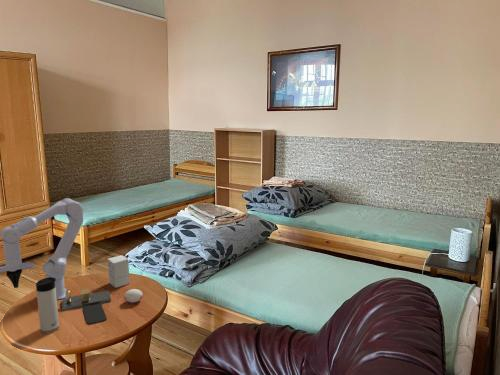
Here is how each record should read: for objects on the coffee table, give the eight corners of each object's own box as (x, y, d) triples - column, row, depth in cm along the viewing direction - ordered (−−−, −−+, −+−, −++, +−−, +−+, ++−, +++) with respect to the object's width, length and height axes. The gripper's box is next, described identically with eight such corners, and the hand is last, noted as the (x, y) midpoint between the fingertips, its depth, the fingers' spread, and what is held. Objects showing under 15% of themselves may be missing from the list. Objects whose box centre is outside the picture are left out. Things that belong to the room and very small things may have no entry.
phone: (100, 303, 163) (107, 319, 150) (101, 304, 163) (107, 321, 150) (82, 307, 159) (87, 324, 147) (82, 309, 159) (87, 326, 147)
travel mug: (58, 331, 142) (53, 282, 138) (38, 334, 140) (33, 284, 136) (61, 323, 148) (57, 275, 144) (42, 325, 146) (37, 277, 142)
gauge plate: (62, 301, 165) (61, 287, 164) (108, 292, 173) (108, 279, 172) (62, 310, 157) (61, 296, 156) (111, 301, 165) (110, 287, 164)
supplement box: (123, 278, 188) (122, 254, 185) (130, 283, 182) (128, 259, 180) (108, 283, 183) (107, 258, 180) (115, 288, 177) (113, 263, 175)
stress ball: (142, 305, 168) (142, 290, 171) (142, 303, 161) (142, 287, 164) (124, 307, 167) (125, 291, 169) (123, 304, 159) (124, 288, 162)
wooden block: (81, 296, 166) (80, 289, 165) (88, 295, 167) (88, 288, 166) (81, 301, 161) (81, 294, 161) (89, 300, 162) (88, 293, 162)
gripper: (-11, 262, 148) (-7, 294, 150) (32, 256, 154) (35, 287, 157) (-8, 255, 154) (-4, 287, 157) (33, 250, 160) (36, 280, 163)
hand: (16, 286), depth 157 cm, fingers closed
